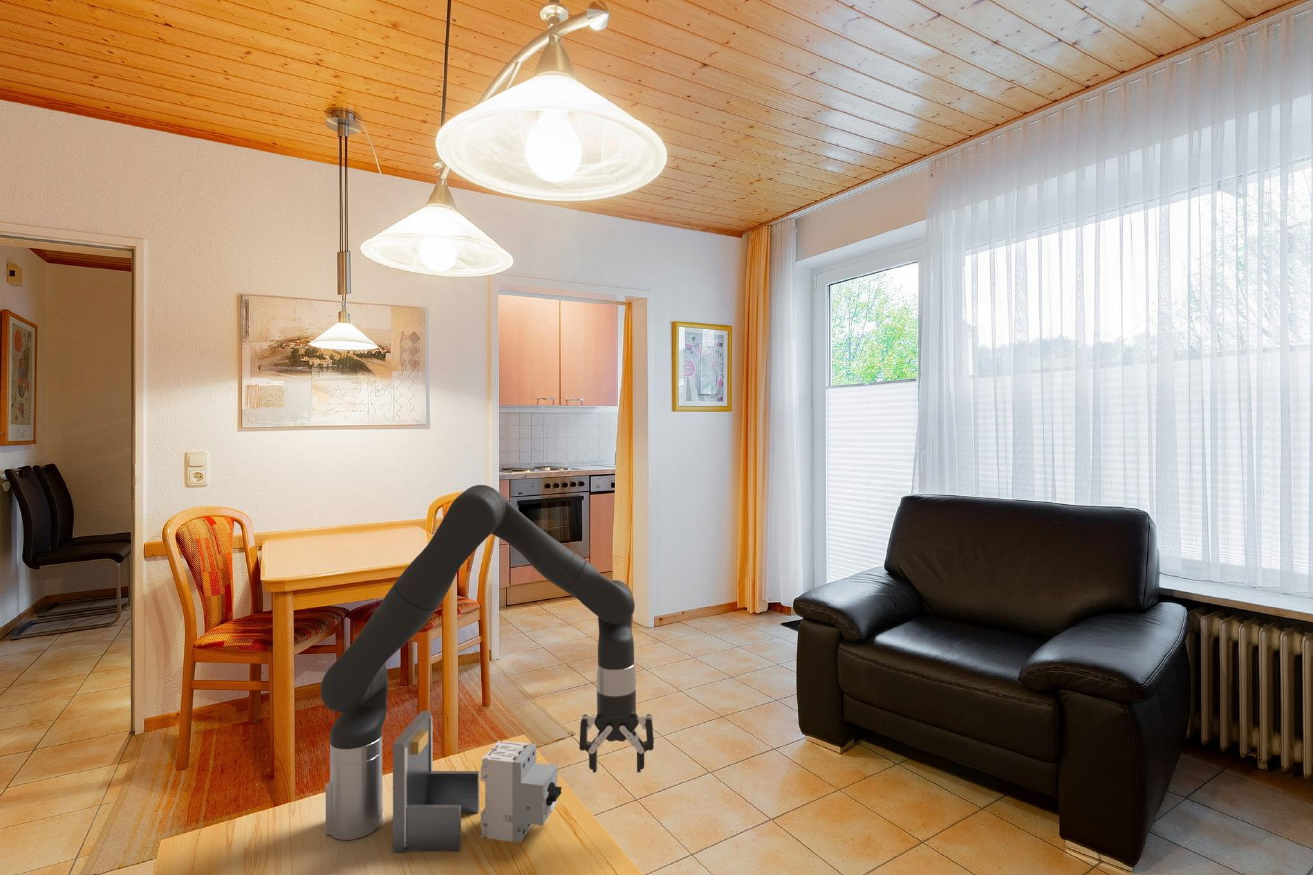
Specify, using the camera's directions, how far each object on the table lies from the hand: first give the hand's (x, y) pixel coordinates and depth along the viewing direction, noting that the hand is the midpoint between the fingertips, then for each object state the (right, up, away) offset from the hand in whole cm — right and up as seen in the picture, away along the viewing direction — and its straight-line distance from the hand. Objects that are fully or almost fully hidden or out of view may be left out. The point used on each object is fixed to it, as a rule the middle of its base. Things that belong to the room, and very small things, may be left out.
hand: (617, 770), depth 124 cm
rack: (-36, -12, 0) cm, 37 cm away
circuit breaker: (-18, -12, 0) cm, 22 cm away
